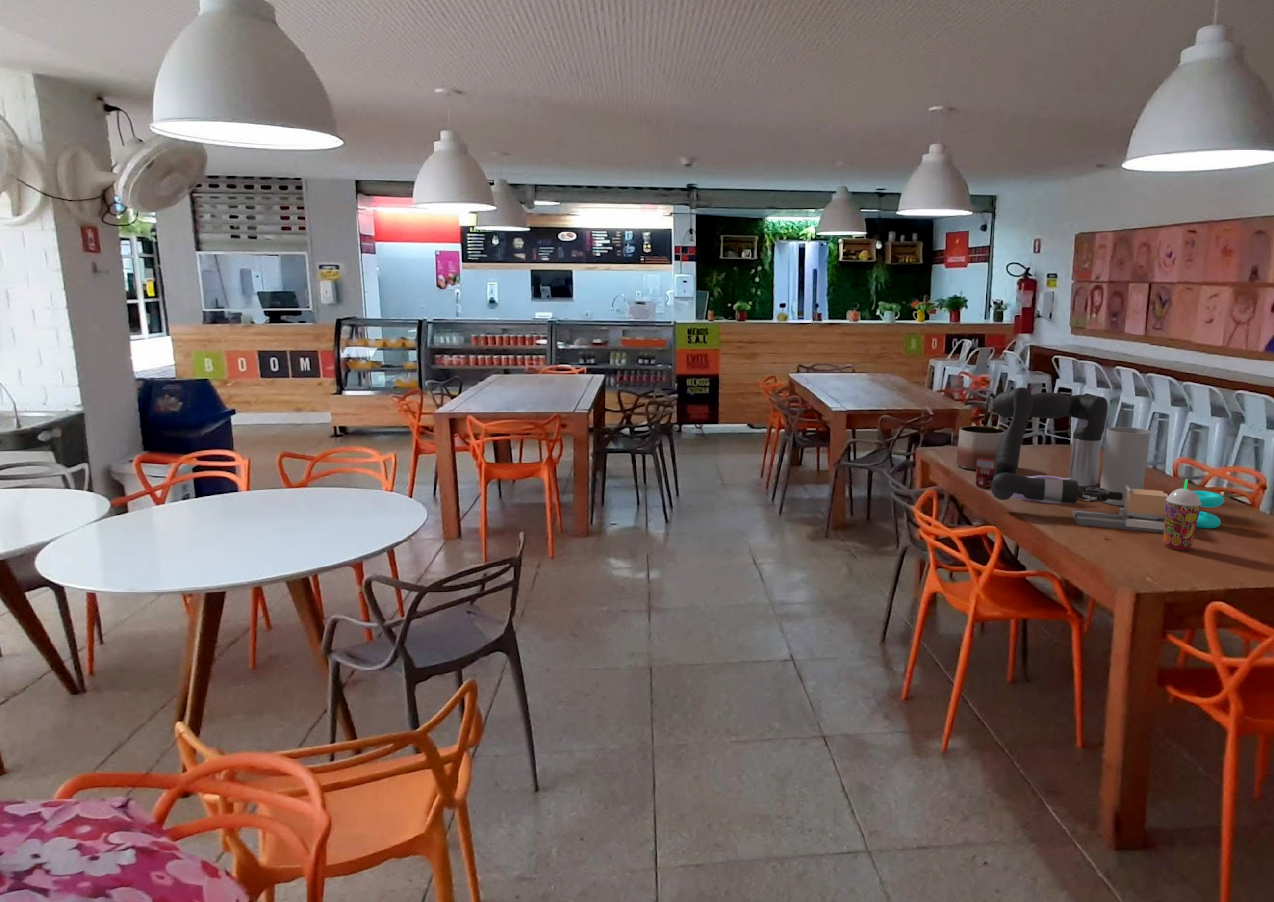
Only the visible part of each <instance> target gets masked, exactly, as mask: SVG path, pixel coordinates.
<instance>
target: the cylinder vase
mask: <svg viewBox="0 0 1274 902" xmlns="http://www.w3.org/2000/svg"><path fill="white" fill-rule="evenodd" d="M1105 434H1106V435H1105V444H1104V452H1103V460H1102V461H1103V462H1102V469H1101V476H1100V477H1101V478H1100V485H1099V488H1102V489H1105V490H1108V492H1109V491H1111V492H1121V493H1122V494H1123V499H1122V500H1112V499H1108V500H1107V501H1102V503H1105V504H1109V505H1113V506H1119V507H1124V506H1125V498H1126V490H1127V489H1126V488H1125V485H1128V486H1129V487H1130V488H1131V489H1143V490H1144V485H1145V479H1146V478H1145V477H1146V468H1147V460H1148V454H1149V453H1148V452H1149V446H1150V439H1151V438H1150V437H1151V431H1150V430H1147V429H1144V428H1138V427H1125V426H1112V427H1107V428H1106V433H1105Z"/></svg>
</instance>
